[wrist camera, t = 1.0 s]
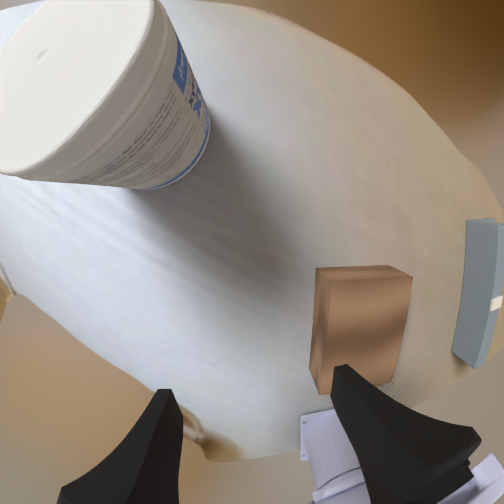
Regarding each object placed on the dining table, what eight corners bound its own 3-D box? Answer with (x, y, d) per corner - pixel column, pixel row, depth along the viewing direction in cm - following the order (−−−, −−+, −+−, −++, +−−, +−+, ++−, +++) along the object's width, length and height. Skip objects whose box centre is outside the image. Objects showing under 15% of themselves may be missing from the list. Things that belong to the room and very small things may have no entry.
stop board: (474, 339, 25) (498, 356, 20) (450, 350, 25) (475, 370, 20) (489, 218, 22) (521, 223, 17) (465, 220, 22) (500, 226, 17)
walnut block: (372, 357, 25) (391, 381, 20) (308, 366, 24) (319, 395, 20) (386, 264, 23) (412, 277, 18) (315, 267, 22) (331, 282, 18)
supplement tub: (236, 126, 20) (227, 7, 5) (156, 214, 21) (29, 241, 6) (156, 65, 18) (84, -40, 4) (86, 146, 19) (-41, 113, 5)
